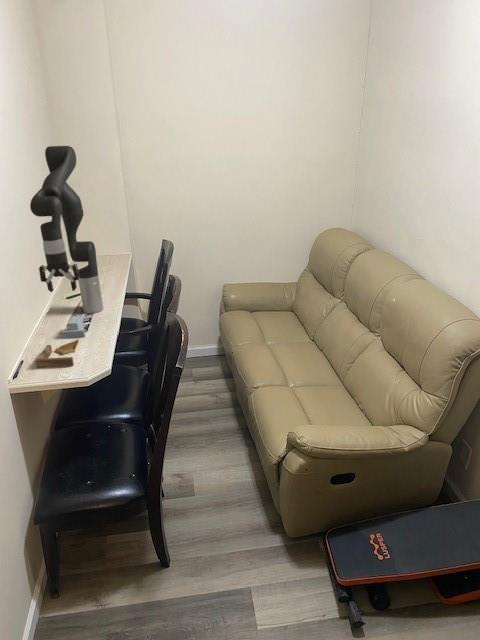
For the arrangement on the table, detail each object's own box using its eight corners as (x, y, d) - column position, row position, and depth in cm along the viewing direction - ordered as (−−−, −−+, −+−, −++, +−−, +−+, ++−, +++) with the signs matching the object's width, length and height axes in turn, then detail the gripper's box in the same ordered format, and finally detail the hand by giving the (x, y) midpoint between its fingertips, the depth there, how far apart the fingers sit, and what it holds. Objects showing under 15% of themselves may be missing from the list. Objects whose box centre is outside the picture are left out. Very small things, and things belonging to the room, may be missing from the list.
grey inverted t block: (69, 329, 205) (66, 316, 203) (90, 328, 205) (87, 315, 203) (62, 338, 196) (60, 325, 194) (84, 337, 197) (82, 324, 194)
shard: (79, 342, 193) (78, 338, 193) (89, 347, 189) (89, 343, 188) (55, 351, 186) (54, 347, 185) (65, 357, 181) (64, 353, 180)
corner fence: (48, 352, 185) (46, 345, 183) (81, 350, 185) (80, 343, 184) (37, 367, 173) (35, 360, 171) (72, 366, 173) (71, 358, 172)
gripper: (76, 247, 181) (83, 286, 187) (39, 248, 180) (47, 288, 187) (71, 252, 174) (78, 293, 180) (32, 254, 173) (41, 295, 180)
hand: (62, 290), depth 184 cm, fingers open, 8 cm apart
